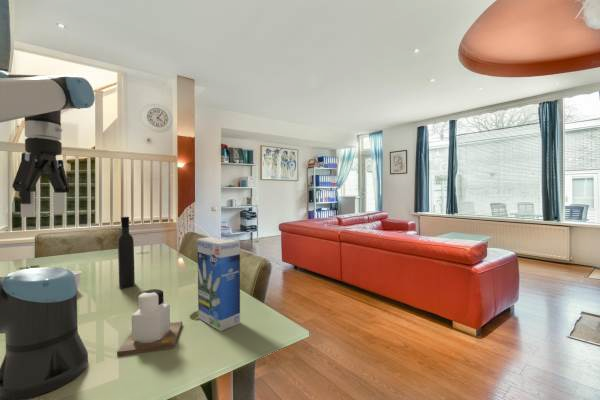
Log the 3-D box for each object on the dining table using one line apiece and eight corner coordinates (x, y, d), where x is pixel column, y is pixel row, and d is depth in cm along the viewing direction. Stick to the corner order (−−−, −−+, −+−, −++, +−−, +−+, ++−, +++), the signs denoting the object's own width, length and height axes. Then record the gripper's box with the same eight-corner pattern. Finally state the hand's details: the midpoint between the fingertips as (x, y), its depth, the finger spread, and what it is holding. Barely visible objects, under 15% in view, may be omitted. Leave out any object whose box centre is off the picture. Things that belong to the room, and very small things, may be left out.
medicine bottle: (145, 328, 80) (143, 287, 79) (170, 327, 80) (169, 286, 80) (131, 342, 73) (130, 296, 72) (160, 340, 73) (158, 295, 73)
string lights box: (197, 318, 89) (196, 238, 88) (218, 310, 95) (217, 235, 94) (220, 332, 80) (219, 243, 79) (242, 322, 86) (241, 240, 85)
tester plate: (173, 348, 72) (173, 342, 72) (117, 355, 69) (116, 349, 69) (182, 324, 85) (181, 320, 85) (134, 330, 81) (134, 325, 81)
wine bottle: (134, 282, 125) (132, 216, 124) (135, 286, 120) (133, 217, 119) (119, 285, 121) (117, 217, 120) (119, 288, 117) (117, 217, 116)
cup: (60, 297, 108) (59, 276, 108) (58, 290, 115) (57, 271, 115) (83, 292, 113) (82, 272, 113) (79, 286, 120) (79, 268, 120)
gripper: (29, 129, 66) (31, 218, 66) (82, 147, 90) (83, 212, 91) (-10, 127, 64) (-9, 219, 65) (54, 147, 89) (56, 213, 89)
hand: (45, 215), depth 78 cm, fingers open, 13 cm apart
